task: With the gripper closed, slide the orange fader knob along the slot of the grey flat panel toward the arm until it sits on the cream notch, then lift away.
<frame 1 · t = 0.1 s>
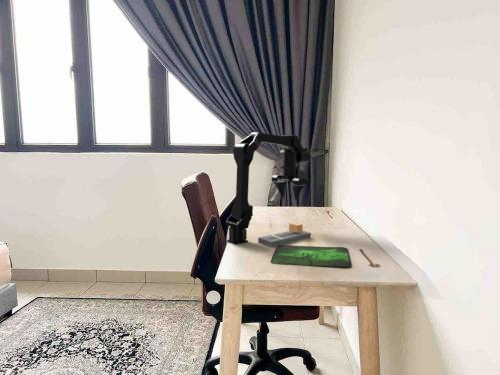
hand: (289, 198, 168), 15 cm above the table, fingers open, 9 cm apart
mouse mat: (310, 257, 136), on the table
fader: (295, 227, 159), point 4 cm above the table, slide at 0.0 cm
grey flat panel: (285, 240, 156), on the table
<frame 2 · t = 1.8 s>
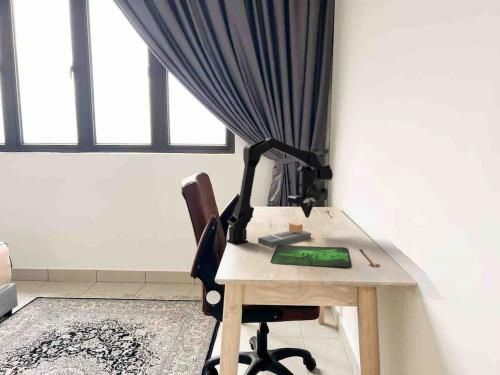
hand: (307, 217, 163), 8 cm above the table, fingers closed
nothing on the table moved.
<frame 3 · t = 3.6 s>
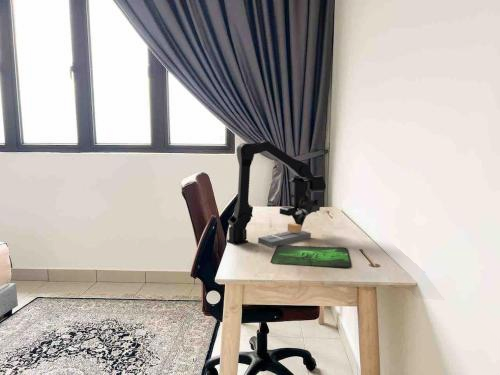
hand: (299, 228, 161), 3 cm above the table, fingers closed
fader: (294, 228, 159), point 4 cm above the table, slide at 0.8 cm, touching gripper
everything else where it was.
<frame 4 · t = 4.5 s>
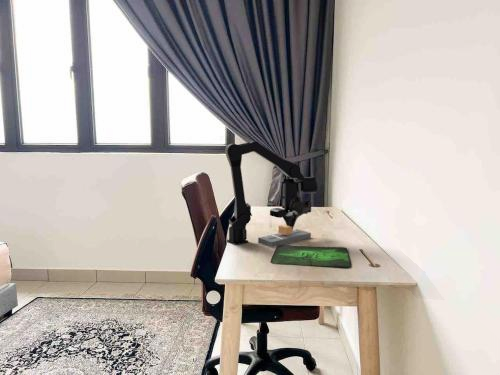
hand: (290, 230, 158), 3 cm above the table, fingers closed
fader: (285, 230, 156), point 4 cm above the table, slide at 6.0 cm, touching gripper
everything else where it was.
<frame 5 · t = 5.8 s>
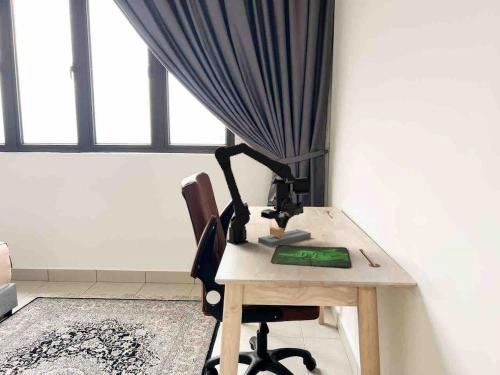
hand: (282, 232, 155), 3 cm above the table, fingers closed
fader: (276, 231, 153), point 4 cm above the table, slide at 10.6 cm, touching gripper
everything else where it was.
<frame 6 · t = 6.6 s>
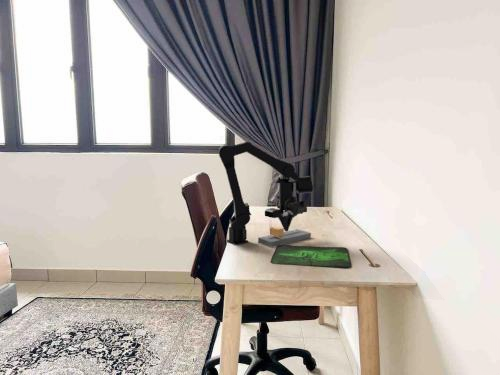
hand: (286, 231, 156), 4 cm above the table, fingers closed
fader: (276, 231, 153), point 4 cm above the table, slide at 10.6 cm
everything else where it was.
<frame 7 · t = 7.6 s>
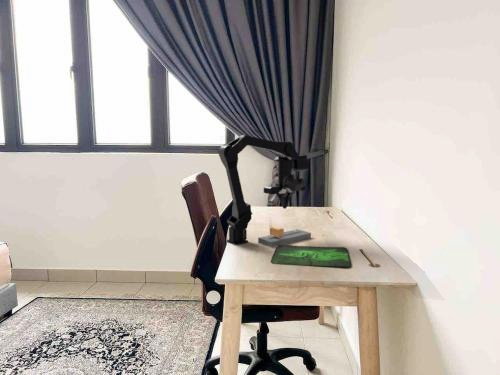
hand: (284, 208, 160), 12 cm above the table, fingers closed
nothing on the table moved.
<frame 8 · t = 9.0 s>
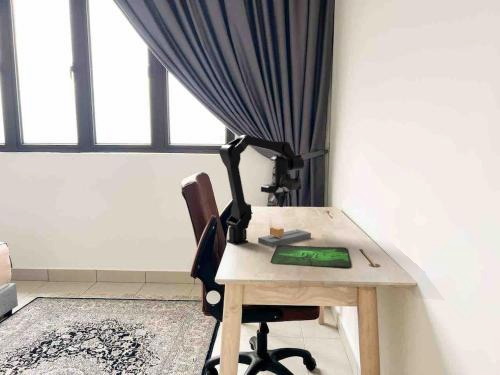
hand: (281, 207, 164), 12 cm above the table, fingers closed
nothing on the table moved.
at the end: fader slide at 10.6 cm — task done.
